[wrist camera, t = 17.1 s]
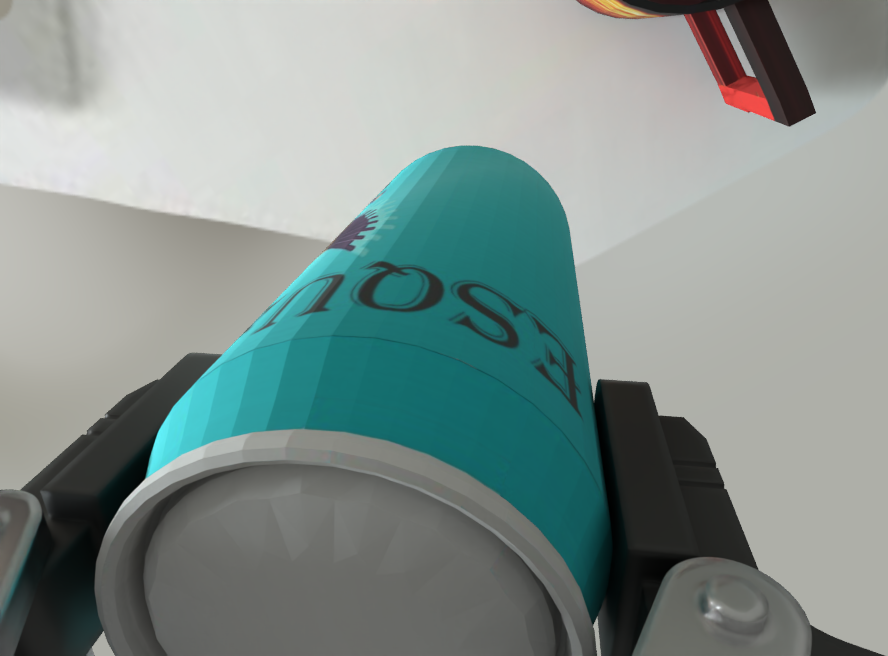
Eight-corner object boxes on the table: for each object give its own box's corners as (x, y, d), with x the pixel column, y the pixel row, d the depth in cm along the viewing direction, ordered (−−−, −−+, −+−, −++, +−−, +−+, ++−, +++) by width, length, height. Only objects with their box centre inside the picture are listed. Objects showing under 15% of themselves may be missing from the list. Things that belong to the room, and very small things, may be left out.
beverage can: (421, 103, 18) (97, 310, 5) (601, 182, 19) (760, 583, 5) (361, 273, 21) (38, 713, 7) (520, 339, 21) (484, 881, 8)
